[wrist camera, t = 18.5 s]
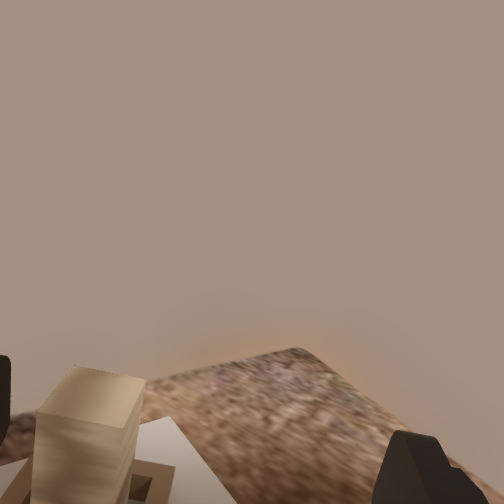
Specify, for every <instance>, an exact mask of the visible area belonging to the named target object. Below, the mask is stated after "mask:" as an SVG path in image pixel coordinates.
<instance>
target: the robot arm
mask: <svg viewBox="0 0 504 504" xmlns="http://www.w3.org/2000/svg"><path fill="white" fill-rule="evenodd" d="M10 393H11V362H10V359H9V358H8V357H7V356H4V355H0V446H1V444H2V442H3V440H4V438H5V435H6V433H7V430H8V426H9V422H10ZM372 504H489V503H488V501H487V499H486V497H485V496H484V494H483V492H482V491H481V490H480V489H479V488H478V487H477V486H476V485H475V483H474V482H473V481H472V480H471V479H470V478H469V477H468V476H467V475H466V474H465V473H464V472H463V471H462V470H461V469H460V468H454V467H451V465H450V463H449V461H448V459H447V457H446V455H445V453H444V451H443V449H442V447H441V445H440V443H439V442H438V440H437V439H436V438H435V437H432V436H427V435H421V434H416V433H411V432H405V431H400V430H396V431H395V432H394V433H393V435H392V437H391V439H390V442H389V445H388V448H387V451H386V454H385V457H384V460H383V463H382V466H381V468H380V471H379V474H378V477H377V480H376V483H375V486H374V490H373V496H372Z"/></svg>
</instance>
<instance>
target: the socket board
mask: <svg viewBox="0 0 504 504" xmlns="http://www.w3.org/2000/svg"><path fill="white" fill-rule="evenodd" d="M33 457H34V451H33V453H32V454H31V456H30V457H29V458H26V459H23V460H19V461H16V462H13V463H9V464H6V465H3V466H0V504H30V498H31V484H32V471H33ZM127 504H237V503H236V501H235V500H234V499H233V498H232V496H231V495H230V494H229V492H228V491H227V490H226V489H225V487H224V486H223V485H222V483H221V482H220V481H219V479H218V478H217V477H216V476H215V474H214V473H213V472H212V470H211V469H210V468H209V467H208V465H207V464H206V463H205V461H204V460H203V459H202V458H201V456H200V455H199V454H198V452H197V451H196V450H195V448H194V447H193V446H192V445H191V443H190V442H189V441H188V439H187V438H186V437H185V436H184V434H183V433H182V432H181V430H180V429H179V428H178V427H177V425H176V424H175V423H174V421H173V420H172V419H171V417H170V416H168V417H164V418H161V419H158V420H154V421H151V422H147V423H144V424H141V425H139V431H138V438H137V444H136V451H135V457H134V464H133V470H132V477H131V483H130V490H129V496H128V503H127Z"/></svg>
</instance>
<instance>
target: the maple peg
mask: <svg viewBox="0 0 504 504" xmlns="http://www.w3.org/2000/svg"><path fill="white" fill-rule="evenodd" d="M145 385H146V380H145V379H140V378H135V377H130V376H125V375H119V374H114V373H110V372H105V371H99V370H94V369H89V368H84V367H79V366H73V367H72V368H71V370H70V371H69V372H68V374H67V375H66V376H65V377H64V378H63V380H62V381H61V382H60V383H59V385H58V386H57V387H56V388H55V390H54V391H53V392H52V393H51V395H50V396H49V397H48V398H47V400H46V401H45V402H44V403H43V404H42V406H41V407H40V408H39V409H38V411H37V416H36V430H35V443H34V457H33V471H32V484H31V498H30V504H127V503H128V496H129V490H130V483H131V477H132V470H133V464H134V457H135V451H136V444H137V438H138V431H139V424H140V418H141V411H142V405H143V398H144V392H145Z"/></svg>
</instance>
